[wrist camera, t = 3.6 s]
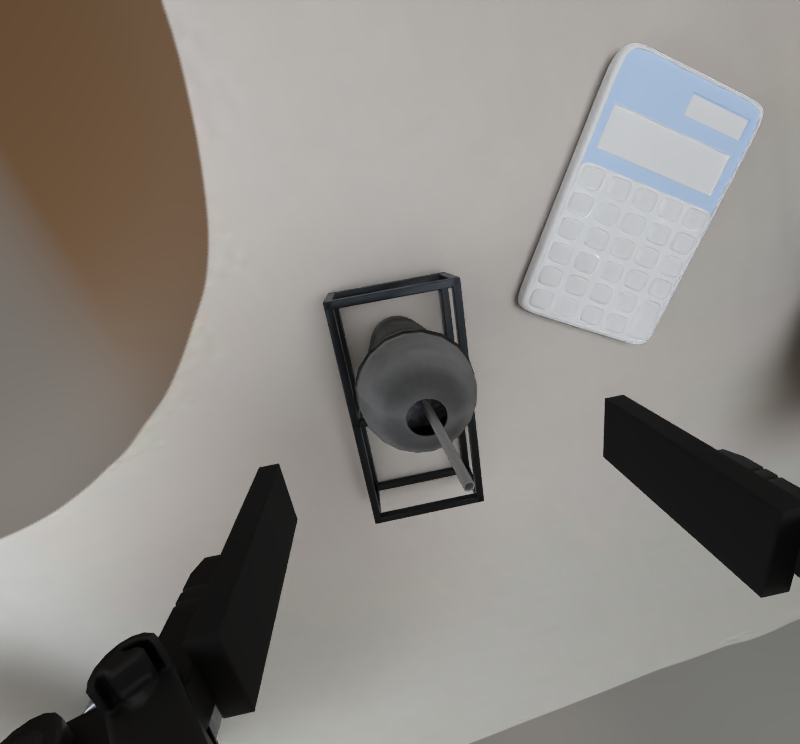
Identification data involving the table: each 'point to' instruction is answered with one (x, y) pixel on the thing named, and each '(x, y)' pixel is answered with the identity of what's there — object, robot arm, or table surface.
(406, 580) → the table surface
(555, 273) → the calculator
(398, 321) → the beverage cup
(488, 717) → the table surface
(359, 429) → the rack
